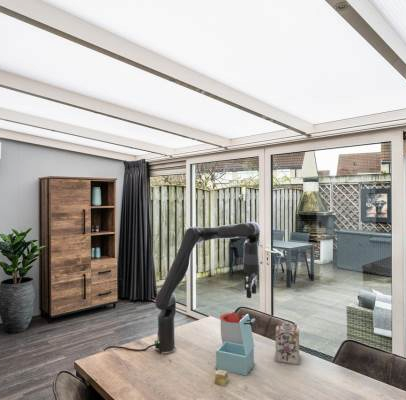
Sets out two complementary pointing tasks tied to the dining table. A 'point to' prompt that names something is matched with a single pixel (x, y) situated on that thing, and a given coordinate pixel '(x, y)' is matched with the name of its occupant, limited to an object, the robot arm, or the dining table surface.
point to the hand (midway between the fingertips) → (251, 295)
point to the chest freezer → (234, 358)
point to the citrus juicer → (231, 328)
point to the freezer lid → (247, 333)
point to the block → (221, 377)
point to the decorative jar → (287, 343)
